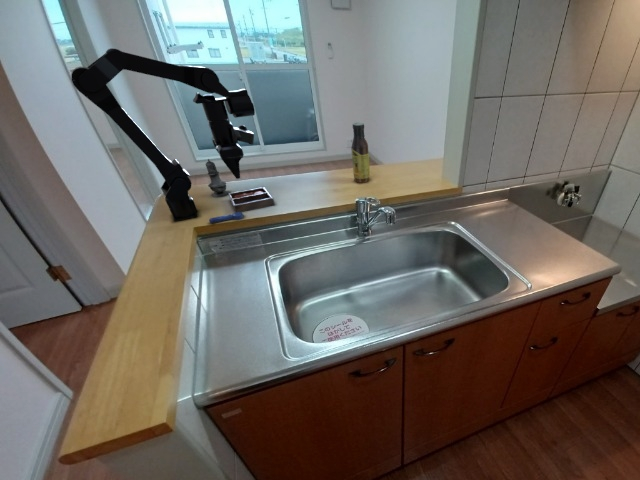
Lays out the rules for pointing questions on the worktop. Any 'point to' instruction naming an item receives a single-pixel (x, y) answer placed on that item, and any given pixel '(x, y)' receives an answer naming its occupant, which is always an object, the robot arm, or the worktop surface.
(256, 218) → the worktop surface
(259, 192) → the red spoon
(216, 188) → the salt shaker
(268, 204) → the tray
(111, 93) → the robot arm
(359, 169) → the sauce bottle
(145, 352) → the worktop surface
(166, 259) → the worktop surface
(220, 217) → the blue flashlight
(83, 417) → the worktop surface
